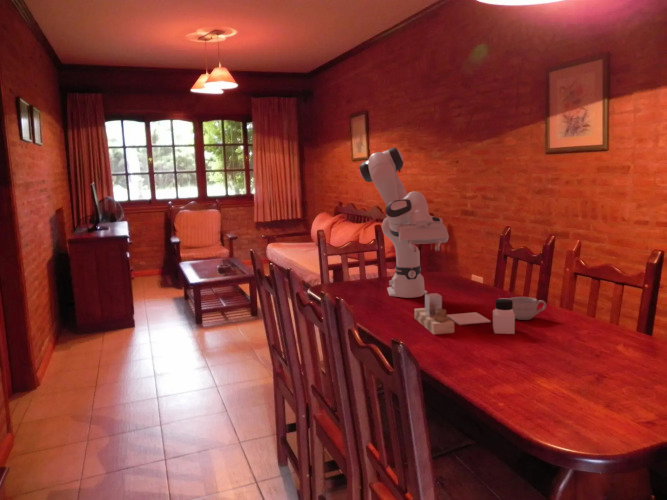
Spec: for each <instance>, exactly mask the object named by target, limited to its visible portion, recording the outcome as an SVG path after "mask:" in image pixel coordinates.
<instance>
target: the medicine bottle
mask: <svg viewBox="0 0 667 500" xmlns="http://www.w3.org/2000/svg"><path fill="white" fill-rule="evenodd" d="M494 302H495V306H494V307H495V308H494V309H493V310H492V328H493V333H494V334H501V335H502V334H503V335H504V334H505V335H515V333H516V319H515V314H514V312H513V301H512V300H510V299H509V298H504V297H503V298H498V299H495V301H494Z"/></svg>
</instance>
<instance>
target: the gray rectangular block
mask: <svg viewBox="0 0 667 500" xmlns="http://www.w3.org/2000/svg"><path fill="white" fill-rule="evenodd" d="M424 308H425V314H426V315H427V316H428V317H436V310H437V309H443V296H442V295H441V294H439V293H437V292H436V293H435V292H434V293H433V292H432V293H427V294H424Z"/></svg>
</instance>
